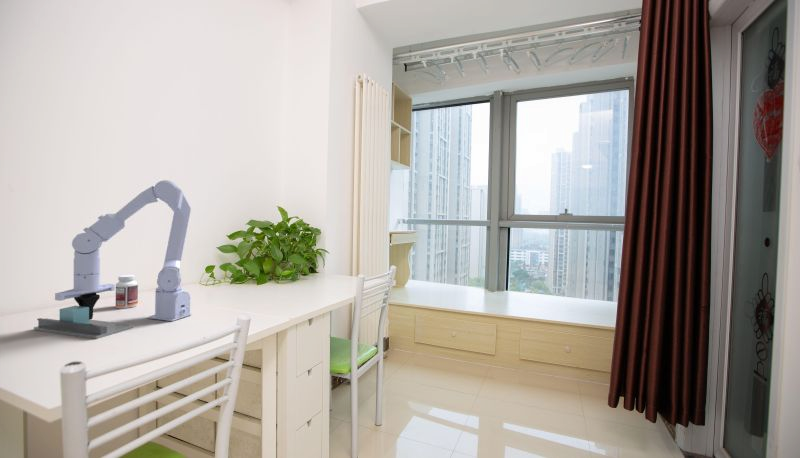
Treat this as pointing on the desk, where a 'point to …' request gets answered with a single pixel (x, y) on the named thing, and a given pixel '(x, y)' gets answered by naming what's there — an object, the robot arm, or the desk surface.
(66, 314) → the block
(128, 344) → the desk surface
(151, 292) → the desk surface
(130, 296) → the pill bottle
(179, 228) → the robot arm
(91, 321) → the rail board
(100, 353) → the desk surface
